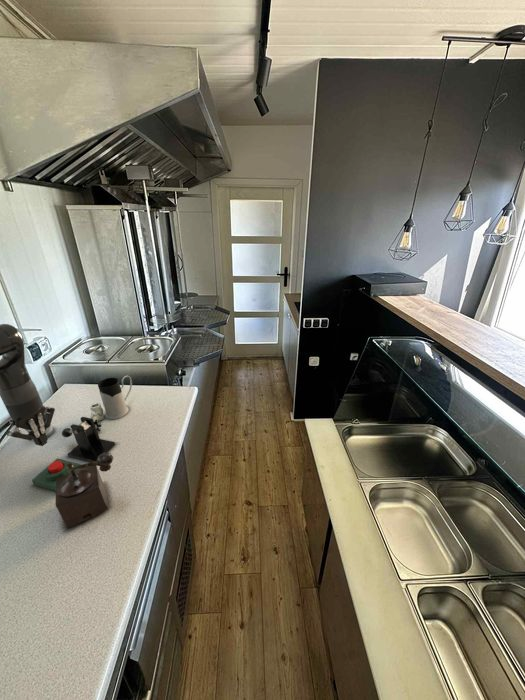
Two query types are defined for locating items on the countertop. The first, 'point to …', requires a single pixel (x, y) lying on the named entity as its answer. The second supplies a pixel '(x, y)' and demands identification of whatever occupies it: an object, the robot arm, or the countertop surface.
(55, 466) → the button
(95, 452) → the bracket
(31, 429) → the robot arm
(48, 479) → the button block
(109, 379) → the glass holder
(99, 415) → the valve
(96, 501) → the brown coffee grinder
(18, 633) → the countertop surface
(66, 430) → the lever
